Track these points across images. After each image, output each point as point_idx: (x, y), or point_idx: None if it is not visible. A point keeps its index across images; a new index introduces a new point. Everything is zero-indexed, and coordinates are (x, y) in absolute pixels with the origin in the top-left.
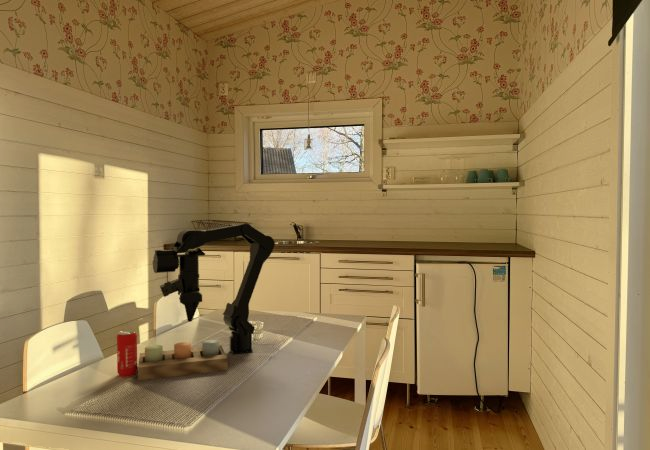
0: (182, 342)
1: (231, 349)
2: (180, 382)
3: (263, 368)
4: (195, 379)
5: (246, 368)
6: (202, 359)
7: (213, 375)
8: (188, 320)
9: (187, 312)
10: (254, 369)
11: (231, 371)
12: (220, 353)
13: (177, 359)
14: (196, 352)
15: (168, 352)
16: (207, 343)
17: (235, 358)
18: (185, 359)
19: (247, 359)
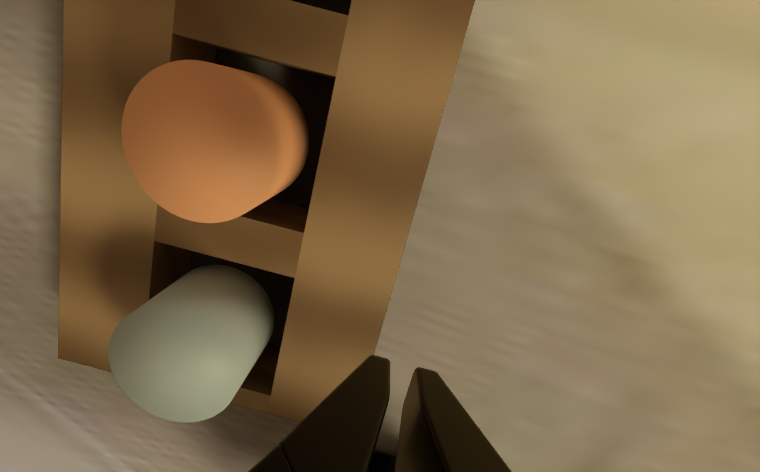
0: (271, 166)
1: (388, 466)
2: (4, 34)
3: (70, 452)
4: (26, 128)
5: (101, 399)
6: (86, 225)
7: (57, 232)
8: (361, 365)
9: (280, 455)
10: (71, 419)
11: None
12: None
13: None
14: (271, 249)
15: (392, 63)
16: (136, 331)
17: (285, 426)
18: None
19: (237, 460)
